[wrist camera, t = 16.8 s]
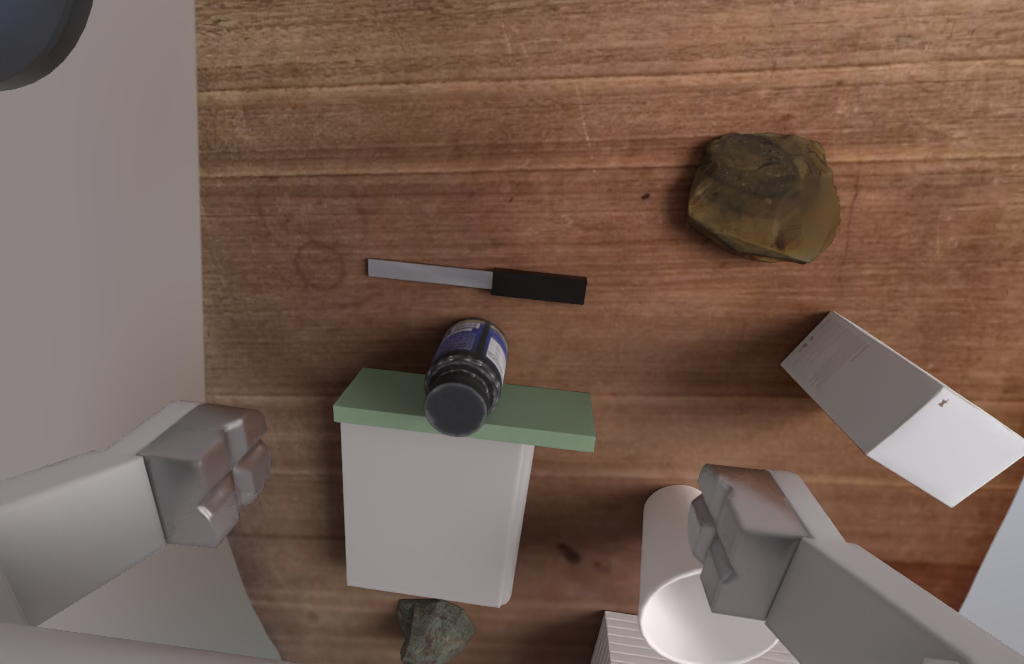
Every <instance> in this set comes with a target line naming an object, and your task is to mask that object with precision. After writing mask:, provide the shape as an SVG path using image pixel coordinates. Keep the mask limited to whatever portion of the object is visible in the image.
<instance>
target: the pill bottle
mask: <svg viewBox="0 0 1024 664" xmlns="http://www.w3.org/2000/svg"><path fill="white" fill-rule="evenodd" d="M507 357H508V344H507V340H506V338H505V335H504V333H503V332H502V331H501V330H500V329H499V328H498V327H497V326H496V325H494V324H492V323H491V322H488V321H486V320H483V319H479V318H468V319H463V320H461V321H458V322H456V323H455V324H454V325H452V326H451V327H450V328H449V329H448V331H447V332H446V334H445V336H444V338H443V340H442V342H441V344H440V346H439V348H438V351H437V353H436V354H435V357H434V359H433V360H432V363H431V365H430V367H429V369H428V371H427V373H426V376H425V380H424V391H425V395H426V398H425V401H424V413H425V416H426V419H427V420H428V422H429V423H430V425H431V426H432V427H433V428H434V429H436V430H437V431H439V432H440V433H442V434H444V435H448V436H452V437H464V436H469V435H471V434H474V433H475V432H477V431H478V430H479V429H480V428H481V427H482V426H483V425H484V423H485V421H486V419H487V415H489V414H490V413H491V412H492V411H493V410H494V409H495V408H496V406H497V404H498V402H499V400H500V397H501V391H502V385H503V379H504V374H505V368H506V362H507Z"/></svg>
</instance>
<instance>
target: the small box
mask: <svg viewBox="0 0 1024 664" xmlns="http://www.w3.org/2000/svg"><path fill="white" fill-rule="evenodd" d="M780 365H781V367H782V368H783V369H784V370H785V371H786V372H787V373H788V374H789V375H790V376H791V377H792V378H793V379H794V380H795V381H796V382H797V383H798V384H799V385H800V386H801V387H802V388H803V389H804V391H805V392H806V393H807V394H808V395H809V396H810V397H811V398H812V399H813V400H814V401H815V402H816V403H817V404H818V406H819V407H820V408H821V409H822V410H823V411H824V412H825V413H826V414H827V415H828V416H829V417H830V418H831V419H832V420H833V421H834V422H835V423H836V424H837V425H838V426H839V428H840V429H841V430H842V431H843V432H844V433H845V434H846V435H847V436H848V437H849V438H850V439H851V440H852V441H853V442H854V443H855V445H856V446H857V447H858V448H859V449H860V450H861V451H862V452H863V453H864V455H866V456H867V457H869V458H870V459H872V460H873V461H875V462H877V463H878V464H880V465H881V466H883V467H885V468H886V469H888V470H889V471H891V472H893V473H894V474H896V475H898V476H899V477H901V478H902V479H904V480H906V481H907V482H909V483H910V484H912V485H914V486H915V487H917V488H919V489H920V490H922V491H924V492H925V493H927V494H928V495H930V496H932V497H933V498H935V499H937V500H938V501H940V502H941V503H943V504H945V505H946V506H948V507H950V508H952V507H954V506H955V505H957V504H958V503H959V502H961V501H962V500H963V499H965V498H966V497H968V496H969V495H970V494H972V493H973V492H974V491H976V490H977V489H979V488H980V487H981V486H983V485H984V484H986V483H987V482H988V481H990V480H991V479H992V478H994V477H995V476H997V475H998V474H999V473H1001V472H1002V471H1003V470H1005V469H1006V468H1008V467H1009V466H1010V465H1012V464H1013V463H1015V462H1016V461H1017V460H1019V459H1020V458H1021V457H1023V456H1024V438H1022V437H1021V436H1019V435H1018V434H1016V433H1015V432H1014V431H1012V430H1011V429H1009V428H1008V427H1006V426H1005V425H1003V424H1002V423H1001V422H999V421H998V420H996V419H995V418H994V417H992V416H991V415H989V414H988V413H986V412H985V411H983V410H982V409H980V408H979V407H977V406H975V405H974V404H972V403H971V402H969V401H968V400H967V399H965V398H964V397H962V396H961V395H959V394H958V393H956V392H955V391H953V390H952V389H950V388H949V387H948V386H946V385H945V384H943V383H942V382H940V381H939V380H937V379H936V378H935V377H933V376H932V375H930V374H929V373H927V372H926V371H924V370H923V369H921V368H920V367H918V366H917V365H915V364H914V363H912V362H911V361H909V360H908V359H906V358H905V357H903V356H902V355H900V354H899V353H897V352H896V351H894V350H893V349H891V348H890V347H889V346H887V345H886V344H884V343H883V342H881V341H880V340H878V339H877V338H875V337H874V336H872V335H871V334H869V333H868V332H866V331H865V330H863V329H862V328H860V327H858V326H857V325H855V324H854V323H852V322H851V321H849V320H847V319H846V318H844V317H843V316H841V315H840V314H838V313H836V312H834V311H831V312H830V313H829V314H828V315H827V316H826V317H825V318H824V319H823V320H822V321H821V322H820V323H819V324H818V325H817V326H816V327H815V328H814V329H813V331H812V332H811V333H810V334H809V335H808V336H807V337H806V338H805V339H804V340H803V341H802V342H801V343H800V344H799V345H798V346H797V347H796V348H795V349H794V350H793V351H792V352H791V353H790V354H789V356H788V357H787V358H786V359H785V360H784V361H783V362H782V363H781V364H780Z"/></svg>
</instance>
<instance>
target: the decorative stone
mask: <svg viewBox="0 0 1024 664" xmlns="http://www.w3.org/2000/svg"><path fill="white" fill-rule="evenodd" d="M833 183H834V182H833V170H832V168H830V167H828V166H827V161H826V154H825V151H824V149H823V147H822V146H821V144H820V143H819V142H817V141H812V140H807V139H805V138H803V137H800V136H796V135H786V136H784V135H778V134H774V133H764V134H762V133H758V134H743V135H741V134H738V133H731V134H728V135H725V136H723V137H722V138H720V139H719V140H717V139H716V140H713V141H711V142H710V143H709V144H708V145H707V146H706V150H705V153H704V157H703V161H702V163H701V164H700V166H699V167H698V169H697V172H696V174H695V177H694V180H693V184H692V187H691V191H690V196H689V202H688V215H687V221H688V222H689V224H690V225H691V226H692V227H693V228H694V229H695V230H696V231H697V232H699V233H701V234H703V235H705V236H706V237H708V238H710V239H711V240H712V241H714V242H715V243H716V244H717V245H718V246H719V247H721V248H723V249H724V250H727V251H729V252H732V253H736V254H739V255H740V256H742V257H744V258H747V259H750V260H754V261H762V262H768V263H776V262H780V261H787V262H795V263H799V264H806V263H811V262H812V261H813V260H815V259H816V257H818V256H819V255H820V254H821V253H822V252H823V251H825V250H826V249H827V248H828V247H829V246H830V245H831V243H832V241H833V239H834V237H835V235H836V231H837V228H838V226H839V224H840V204H839V197H838V196H837V189H836V187H835V186H834V184H833Z"/></svg>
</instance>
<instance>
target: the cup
mask: <svg viewBox="0 0 1024 664" xmlns="http://www.w3.org/2000/svg"><path fill="white" fill-rule="evenodd" d="M701 493H702V492H701V491H699V490H697V489H696V488H694V487H690V486H687V485H672V486H667V487H664V488H661V489H659V490H658V491H656V492H654V493H653V494H652V495H651V496H650V497H649V498H648V499H647V501H646V503H645V505H644V511H643V534H642V556H641V579H640V602H639V613H638V624H639V629H640V633H641V635H642V636H643V638H644V639H645V641H646V643H647V644H648V645H649V646H650V647H651V648H652V649H653V650H655V651H656V652H657V653H658V654H659V655H661V656H663V657H665V658H667V659H669V660H671V661H673V662H676V663H679V664H742V663H745V662H748V661H750V660H752V659H754V658H757V657H759V656H761V655H762V654H764V653H765V652H766V651H768V650H769V649H771V648H772V647H773V646H774V645H775V644H776V643H777V642H778V638H777V637H776V636H775V635H774V634H773V633H772V632H771V631H770V629H769V628H768V627H767V626H766V625H765V624H764V623H765V621H761V620H755V619H748V618H742V617H736V616H729V615H723V614H717V613H712V612H711V609H710V606H709V603H708V600H707V597H706V594H705V591H704V588H703V585H702V582H701V579H700V575H701V572H702V569H703V566H704V565H702V564H701V563H700V562H699V561H698V560H697V559H696V558H695V557H694V556H693V554H692V551H691V548H690V545H689V540H688V533H687V524H688V513H689V509H690V505H691V501H692V500H694V499H695V498H696V497H697V496H699V495H700V494H701Z"/></svg>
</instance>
